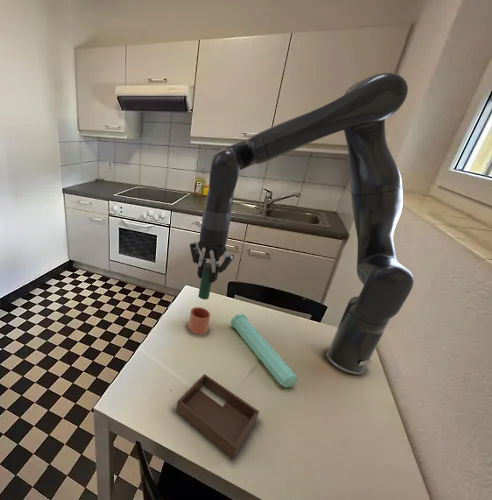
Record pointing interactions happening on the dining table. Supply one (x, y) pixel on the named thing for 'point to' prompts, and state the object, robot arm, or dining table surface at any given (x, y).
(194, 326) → the pen pot
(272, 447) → the dining table surface
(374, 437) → the dining table surface
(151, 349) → the dining table surface
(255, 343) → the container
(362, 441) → the dining table surface
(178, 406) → the tray
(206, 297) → the marker
